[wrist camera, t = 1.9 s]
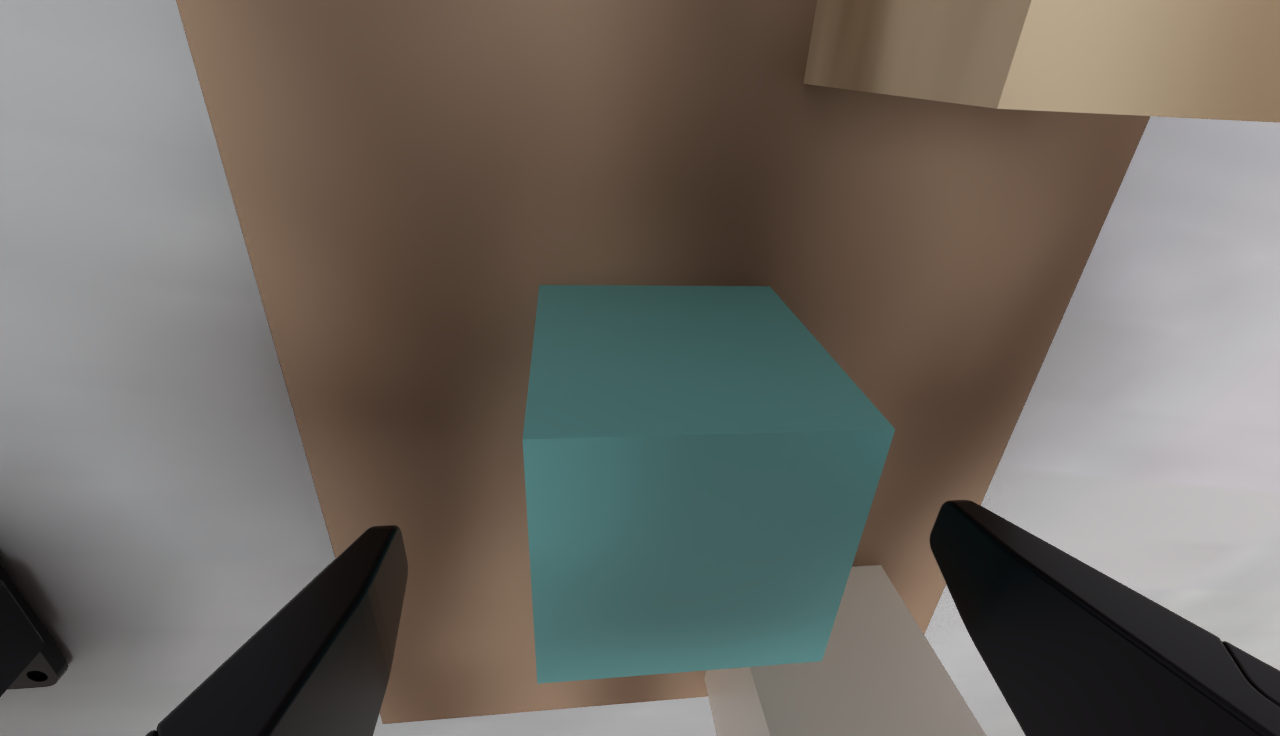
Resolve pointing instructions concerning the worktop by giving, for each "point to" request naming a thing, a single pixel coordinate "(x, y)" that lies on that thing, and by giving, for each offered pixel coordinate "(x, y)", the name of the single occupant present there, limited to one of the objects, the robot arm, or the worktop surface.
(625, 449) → the teal block
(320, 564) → the worktop surface
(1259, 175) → the worktop surface
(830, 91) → the walnut board
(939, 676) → the off-white block
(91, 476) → the worktop surface
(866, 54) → the birch block
